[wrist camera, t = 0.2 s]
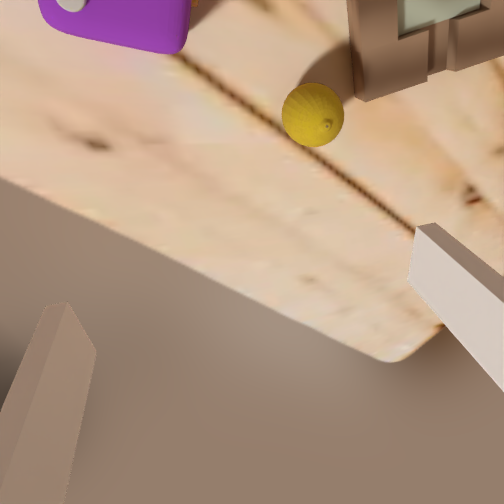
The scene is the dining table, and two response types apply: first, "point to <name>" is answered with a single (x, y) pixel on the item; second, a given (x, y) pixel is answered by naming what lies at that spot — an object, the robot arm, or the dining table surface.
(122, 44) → the toy camera
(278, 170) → the dining table surface
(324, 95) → the lemon
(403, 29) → the pocket board
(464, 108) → the dining table surface
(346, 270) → the dining table surface
